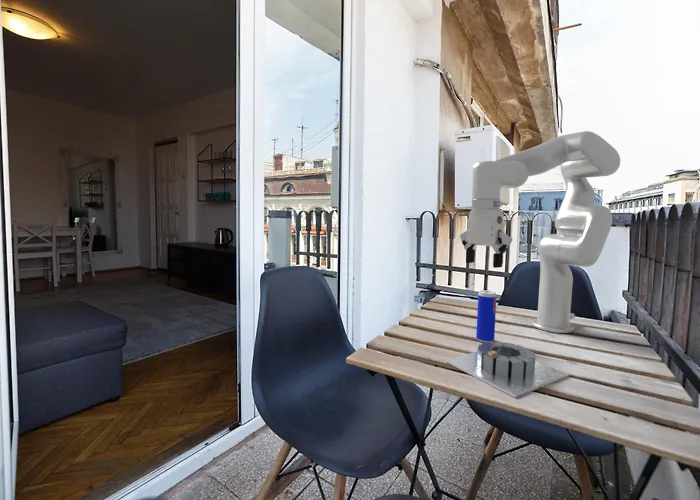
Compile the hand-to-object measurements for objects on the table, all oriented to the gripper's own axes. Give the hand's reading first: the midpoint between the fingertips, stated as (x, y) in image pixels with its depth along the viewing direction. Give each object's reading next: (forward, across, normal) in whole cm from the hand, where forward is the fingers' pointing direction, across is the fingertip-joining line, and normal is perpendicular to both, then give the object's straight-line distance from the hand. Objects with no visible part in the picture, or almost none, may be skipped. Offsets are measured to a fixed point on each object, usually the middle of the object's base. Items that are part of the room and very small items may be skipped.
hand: (483, 264), depth 104 cm
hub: (+24, -15, +9) cm, 29 cm away
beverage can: (+24, +1, -3) cm, 24 cm away
